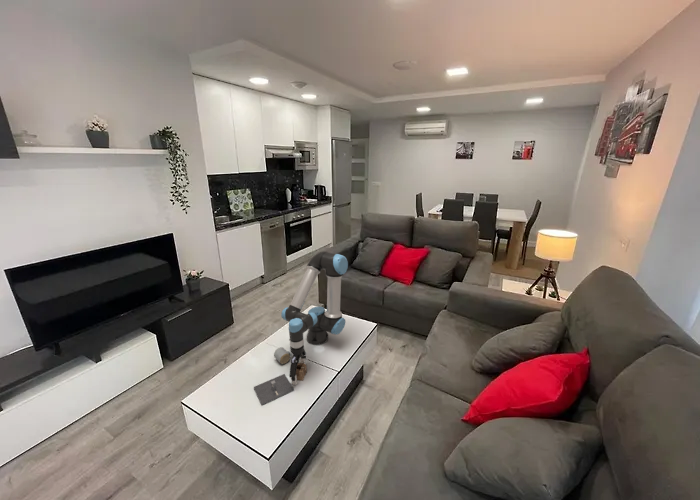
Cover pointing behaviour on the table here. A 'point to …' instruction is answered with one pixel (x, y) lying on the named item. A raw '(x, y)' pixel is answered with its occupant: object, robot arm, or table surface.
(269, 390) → the metal panel
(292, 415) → the table surface
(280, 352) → the ceramic mug
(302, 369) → the brown cardboard box
